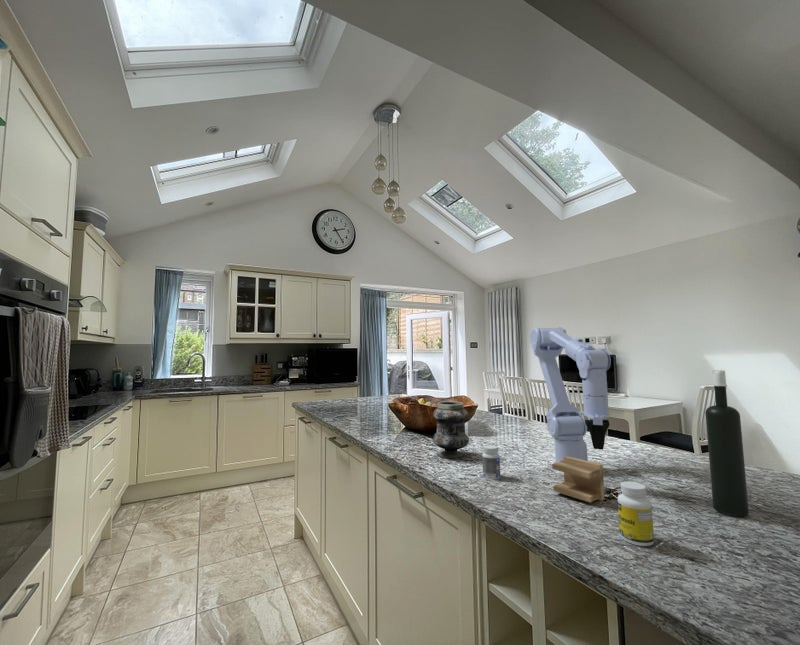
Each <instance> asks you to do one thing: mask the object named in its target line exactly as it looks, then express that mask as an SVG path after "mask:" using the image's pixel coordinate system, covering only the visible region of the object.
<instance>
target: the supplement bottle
mask: <svg viewBox="0 0 800 645" xmlns="http://www.w3.org/2000/svg"><path fill="white" fill-rule="evenodd" d="M620 491H621V492H622V493H621V494H618V495H617V511H618V512H617V513H618V528H619V535H620V538H622V540H624V541H625V542H627V543H629V544H632V545H635V546H638V547H649V546H653V545H654V543H655V535H654V534H655V531H654V516H653V507H652V506H653V505H652V504H653V503H652V501H651V500H650V499H649V498H648V497H647V487H646V486H645V485H644V484H642V483H639V482H635V481H622V482H621V483H620Z"/></svg>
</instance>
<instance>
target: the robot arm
mask: <svg viewBox="0 0 800 645" xmlns="http://www.w3.org/2000/svg"><path fill="white" fill-rule="evenodd" d="M530 332H531V333H530V340H529V341H530V344H531V348H532V351H533V354H534V356H535V357H537V358H538V361H539V364H540V367H541V368H540V369H541V371H542V374H543V378H544V382H545V385H546V388H547V392H548V395H549V399H550V402H551V405H552V407H551V408H550V409H549V410H548V411H547V413H546V415H545V416H546V425H547V426H546V427H547V431H548V434H550V435H551V437H552V438H554V455H555V456H554V458H555V463H557V462H560V461H563V457H565V456H568V457H573V458H577V459H581V460H586V461H589V460H588V458H589V457H588V446H587V442H586V441H585V439H584V437H585V436H586V434H587V432H588V431H589V434H590V440H591V444H592V446H593V450H602V451H603V450H604V448H605V447H604V446H605V440H606V435H607V430H608V429H609V427H610V425H611V424H610V421H609V420H608V418H610V417H611V414H610V412H609V396H608V394H609V393H608V381H607V371H608V370H609V369H610V368H611V363H612V362H611V361H612V360H611V355H610V354H609V351H607V350H606V349H605V348H598V349H596V348H595V347H593V345H591V344H588V343H587V342H585V341H584V339H583V338H581V337H578V338H577V337H576V338H572V337H571V336H570V335H568V334H567V330H566V329H565V328H563V327H534V328H532V330H531V331H530ZM563 349H564V352H565V354H566V355H567V356H568V357H569V358H571V359H572V360H573V361H575V362H576V366H577V368H578V370H579V372H578V373H579V376H580V378H581V379H582V381H581V382H582V401H583V411H582V410H580V409H579V408H577V407H576V406H574V405H573V404H571V403H570V399H569V395H568V393H567V390H566V387H565V384H564V380H563V378H562V375H561V372H560V368H559V365H558V362H557V359H556V358H557V357H559V356H560V355H562V352H563ZM584 416H585V417H587V418H589V419H586V418H584ZM549 468H550V469H552V464H551V465H549Z"/></svg>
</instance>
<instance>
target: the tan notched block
mask: <svg viewBox="0 0 800 645" xmlns="http://www.w3.org/2000/svg"><path fill="white" fill-rule="evenodd" d="M551 465H552V468H551V469H552V470H554V471H558V472H562V473H563V478H564V479H563V480H564V481H563V482H560V483H558V484H554V485H553V486H552V487H553V492H555V493H558V494H562V495H564V496H569V497H571V498H574V499H577V500H581V501H585V502H587V503H592V502H594V501H596V500H597V501H601V502H602V501H604V500H605V483H604V480H605V479H604V466H603V464H602V463H598V462H594V461H590V460H588V461H586V460H581V459H577V458H573V457H568V456H565V457H563V461H560V462H557V463H556V462H555V463H552V464H551Z"/></svg>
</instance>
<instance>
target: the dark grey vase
mask: <svg viewBox="0 0 800 645" xmlns="http://www.w3.org/2000/svg"><path fill="white" fill-rule="evenodd" d="M432 416H433V418H434V419H435V420H436V433H434V435H433V437H432V442H433V443H434V445H435V446H437V447H438V448H441V449H443V450H442V451H441V452H438V453H437V454H436V456H437V457H438V458H440V459H444V460H453V461H454V460H461V459H465V458H467V456H466V454H465V453H464V452H462V451H459V450H461V449H463V448H466V446H468V444H469V443H470V438H469V436H468V435H467V434H466V425H465V424H466V420H467V419H468V418H469V412H468V411H467V410H466V409H465V407H464V403H463V402H461V401H456V400H455V401H453V400H452V401H451V400H443V401H438V403H437V408H436V409H434V411H433V415H432Z"/></svg>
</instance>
